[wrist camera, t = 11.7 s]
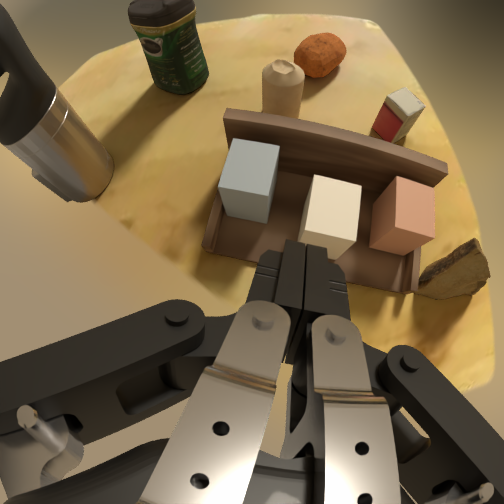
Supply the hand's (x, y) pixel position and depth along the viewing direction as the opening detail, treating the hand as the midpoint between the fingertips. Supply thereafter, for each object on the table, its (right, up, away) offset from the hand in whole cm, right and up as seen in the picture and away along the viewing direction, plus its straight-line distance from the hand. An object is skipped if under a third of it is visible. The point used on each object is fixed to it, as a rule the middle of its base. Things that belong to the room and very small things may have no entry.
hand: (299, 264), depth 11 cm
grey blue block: (-2, +7, +26) cm, 27 cm away
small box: (+20, +20, +29) cm, 40 cm away
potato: (+10, +34, +33) cm, 48 cm away
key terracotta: (+16, +3, +25) cm, 30 cm away
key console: (+7, +4, +25) cm, 27 cm away
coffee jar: (-14, +30, +33) cm, 47 cm away
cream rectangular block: (+7, +3, +25) cm, 26 cm away
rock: (+25, -4, +23) cm, 35 cm away
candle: (+3, +21, +30) cm, 37 cm away
